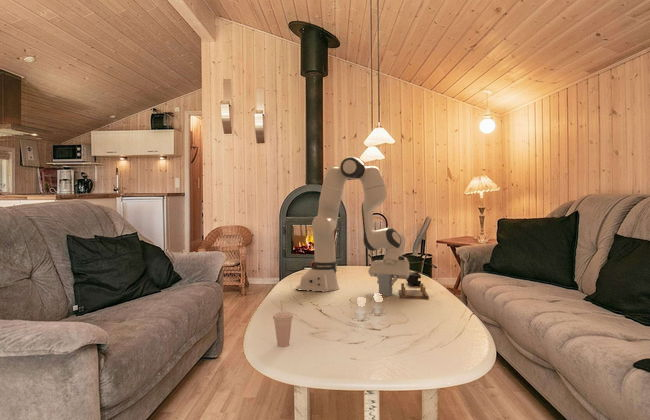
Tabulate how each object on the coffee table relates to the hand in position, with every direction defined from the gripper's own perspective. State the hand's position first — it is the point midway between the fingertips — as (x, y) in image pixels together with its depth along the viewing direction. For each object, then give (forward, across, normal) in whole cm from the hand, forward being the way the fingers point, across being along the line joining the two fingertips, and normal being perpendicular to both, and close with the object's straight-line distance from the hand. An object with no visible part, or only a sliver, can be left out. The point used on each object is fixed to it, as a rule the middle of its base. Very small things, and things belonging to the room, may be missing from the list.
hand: (385, 283), depth 204 cm
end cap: (-17, +4, +25) cm, 30 cm away
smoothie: (+61, -4, -53) cm, 81 cm away
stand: (0, +12, +7) cm, 14 cm away
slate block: (+3, 0, +4) cm, 5 cm away
